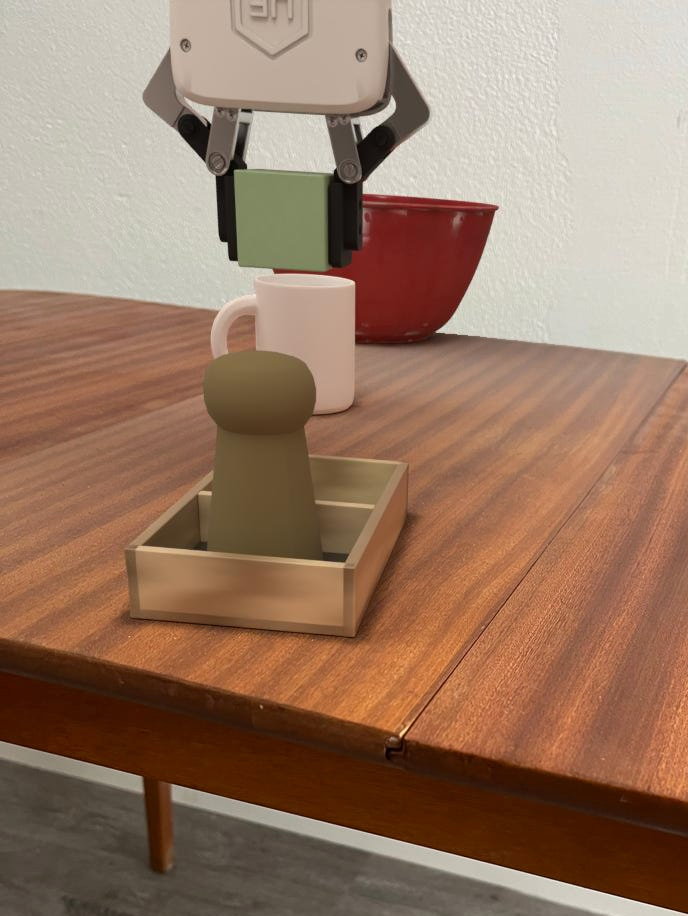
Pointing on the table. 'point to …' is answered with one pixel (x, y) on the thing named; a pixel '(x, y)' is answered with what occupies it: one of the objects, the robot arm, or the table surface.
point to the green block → (282, 219)
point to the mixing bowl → (412, 264)
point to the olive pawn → (262, 456)
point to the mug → (302, 329)
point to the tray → (274, 578)
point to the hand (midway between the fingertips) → (291, 258)
